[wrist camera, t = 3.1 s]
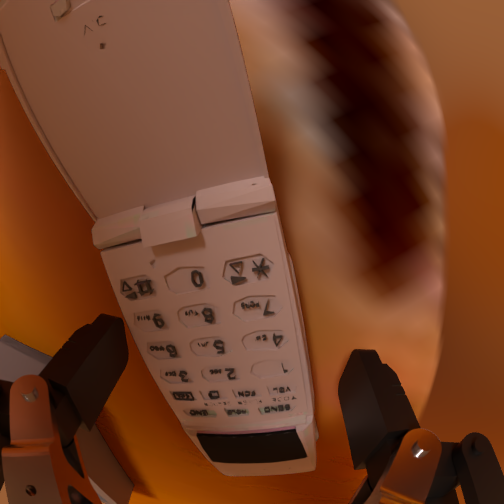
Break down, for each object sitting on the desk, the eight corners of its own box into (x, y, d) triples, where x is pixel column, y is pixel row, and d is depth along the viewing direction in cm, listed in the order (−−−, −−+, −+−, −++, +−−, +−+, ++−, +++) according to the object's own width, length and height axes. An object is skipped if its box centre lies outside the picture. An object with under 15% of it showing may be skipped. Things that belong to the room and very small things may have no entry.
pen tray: (4, 334, 13) (-27, 366, 9) (67, 363, 13) (35, 408, 9) (85, 466, 20) (75, 490, 16) (134, 485, 20) (125, 511, 16)
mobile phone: (196, -119, 1) (326, 524, 9) (231, -14, 6) (320, 451, 15) (-14, 5, 2) (224, 528, 10) (89, 42, 7) (233, 458, 15)
